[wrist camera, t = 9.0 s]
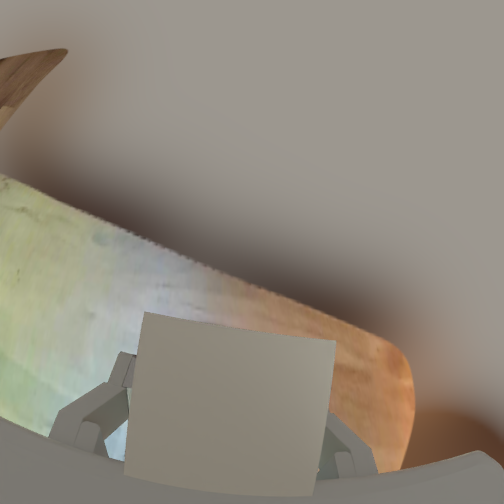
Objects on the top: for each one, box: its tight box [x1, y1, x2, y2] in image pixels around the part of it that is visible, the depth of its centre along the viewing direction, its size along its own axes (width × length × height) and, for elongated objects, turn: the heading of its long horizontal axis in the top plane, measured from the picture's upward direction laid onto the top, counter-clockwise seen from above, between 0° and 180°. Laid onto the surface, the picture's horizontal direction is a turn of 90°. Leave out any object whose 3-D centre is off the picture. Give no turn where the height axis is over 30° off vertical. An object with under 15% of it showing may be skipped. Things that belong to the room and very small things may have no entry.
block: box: [124, 311, 336, 497], centre depth 11 cm, size 4×4×11 cm
